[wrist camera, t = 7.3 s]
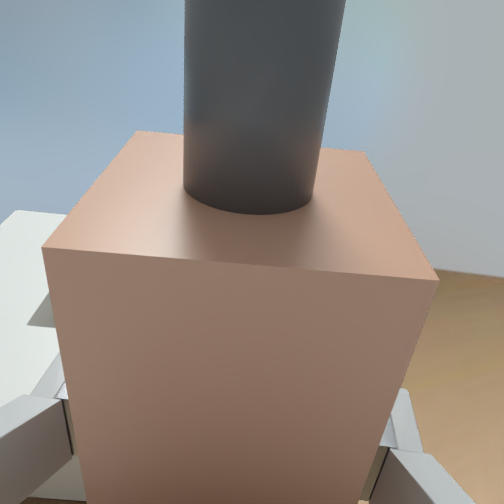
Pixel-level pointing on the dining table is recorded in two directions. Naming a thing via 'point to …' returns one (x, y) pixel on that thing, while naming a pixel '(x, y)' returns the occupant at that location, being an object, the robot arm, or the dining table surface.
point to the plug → (237, 283)
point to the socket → (30, 327)
